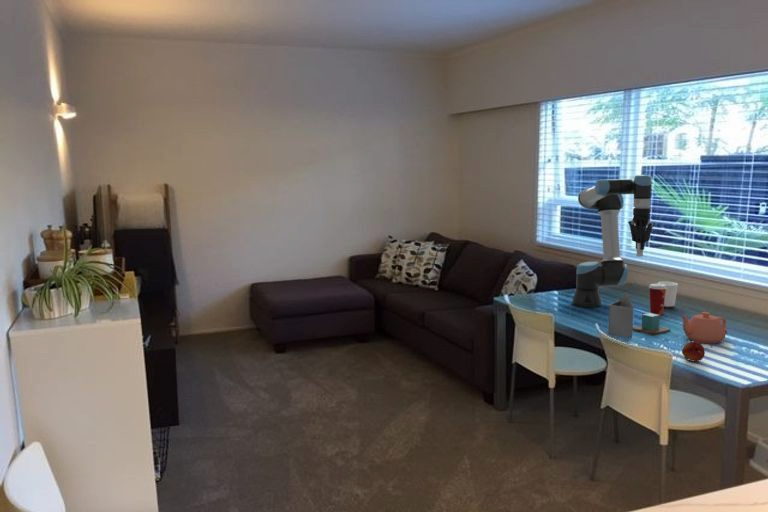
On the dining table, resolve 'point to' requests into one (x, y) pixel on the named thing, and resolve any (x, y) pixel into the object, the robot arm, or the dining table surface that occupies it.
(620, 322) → the planter
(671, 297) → the cup
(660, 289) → the coffee cup
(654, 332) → the post block
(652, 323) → the cap
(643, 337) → the dining table surface
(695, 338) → the teapot
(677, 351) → the dining table surface
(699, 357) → the fruit
